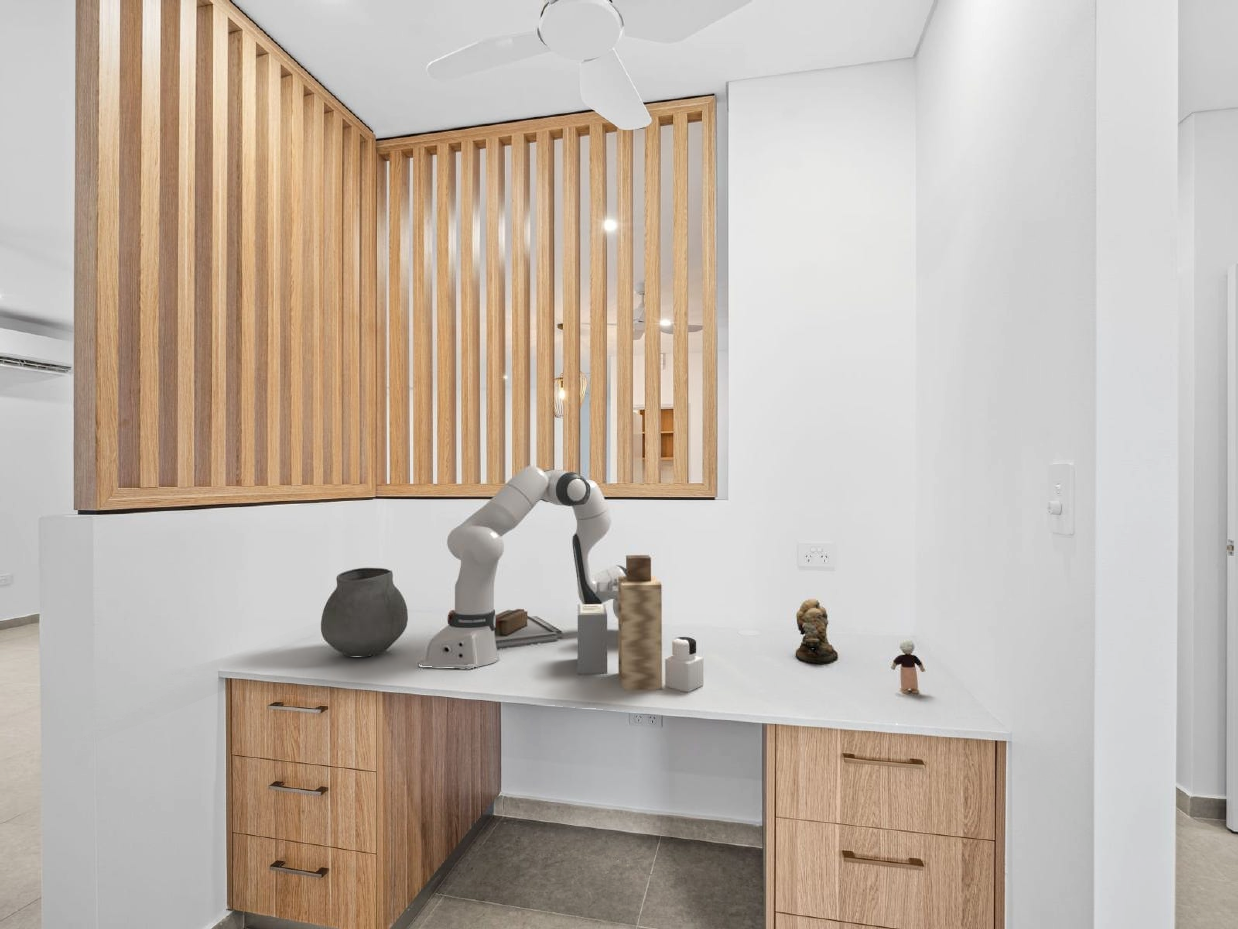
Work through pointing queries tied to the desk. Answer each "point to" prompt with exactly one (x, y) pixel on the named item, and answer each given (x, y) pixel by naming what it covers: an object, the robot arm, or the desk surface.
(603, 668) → the plinth
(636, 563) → the brown wooden bar
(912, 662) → the grandmother figurine
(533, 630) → the grey tray
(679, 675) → the medicine bottle
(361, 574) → the ceramic pot
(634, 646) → the tall wooden pillar
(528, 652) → the desk surface
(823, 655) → the brown lumpy piece
